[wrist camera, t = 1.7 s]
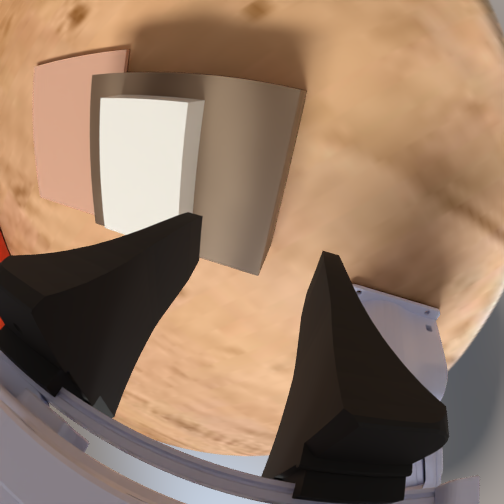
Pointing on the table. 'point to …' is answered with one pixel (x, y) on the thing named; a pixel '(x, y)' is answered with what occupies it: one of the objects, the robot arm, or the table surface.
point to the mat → (68, 125)
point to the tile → (147, 159)
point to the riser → (222, 155)
